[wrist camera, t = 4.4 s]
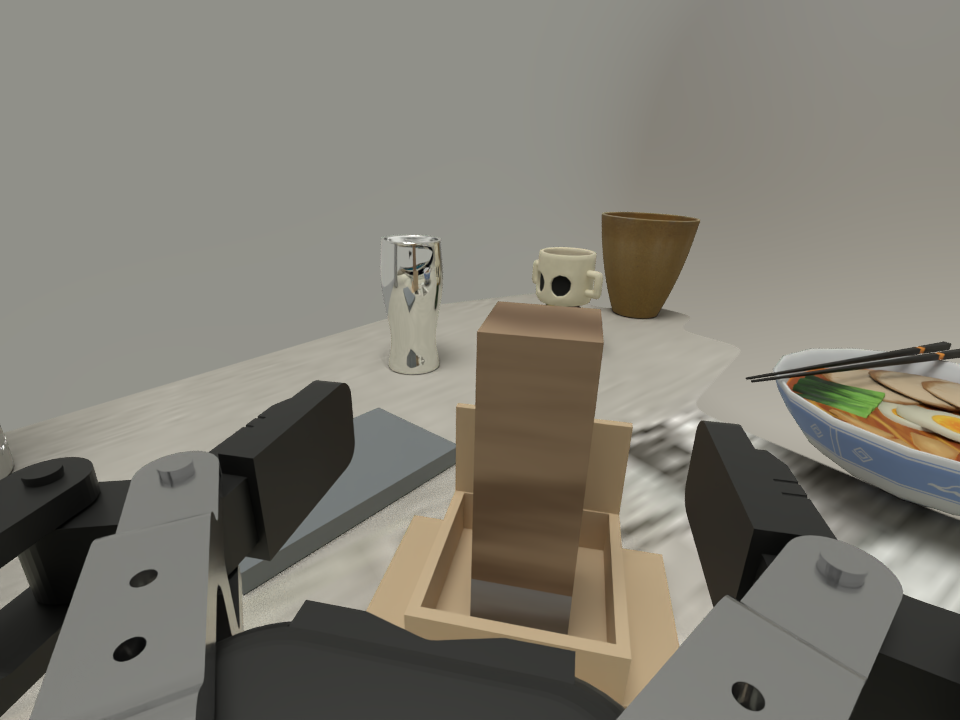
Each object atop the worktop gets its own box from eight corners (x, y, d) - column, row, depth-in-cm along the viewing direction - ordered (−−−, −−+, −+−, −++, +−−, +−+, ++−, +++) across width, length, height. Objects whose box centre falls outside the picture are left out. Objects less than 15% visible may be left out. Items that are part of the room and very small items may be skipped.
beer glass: (452, 360, 62) (453, 237, 56) (426, 380, 56) (424, 245, 50) (403, 351, 64) (400, 232, 59) (373, 370, 58) (365, 239, 53)
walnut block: (566, 641, 25) (603, 342, 19) (470, 623, 26) (477, 331, 20) (569, 568, 30) (600, 309, 24) (487, 554, 31) (497, 301, 25)
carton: (706, 805, 19) (762, 630, 16) (318, 711, 22) (295, 546, 19) (661, 558, 31) (687, 429, 28) (414, 518, 34) (411, 397, 31)
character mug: (511, 344, 68) (516, 247, 63) (545, 334, 72) (553, 243, 68) (574, 368, 60) (586, 260, 56) (609, 355, 65) (622, 254, 60)
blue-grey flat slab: (243, 594, 28) (239, 574, 27) (171, 516, 34) (166, 498, 33) (458, 461, 41) (459, 445, 40) (379, 421, 47) (378, 407, 46)
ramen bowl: (979, 645, 26) (1049, 518, 23) (687, 433, 46) (703, 350, 43) (1228, 551, 33) (1305, 445, 30) (880, 403, 53) (906, 330, 50)
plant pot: (661, 332, 75) (679, 222, 69) (575, 312, 84) (584, 213, 78) (695, 312, 85) (713, 216, 79) (615, 297, 94) (627, 209, 88)
